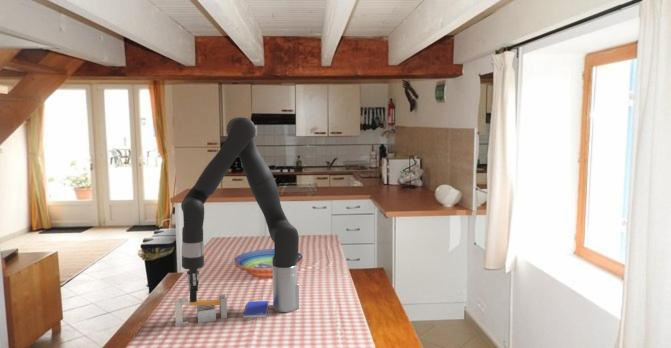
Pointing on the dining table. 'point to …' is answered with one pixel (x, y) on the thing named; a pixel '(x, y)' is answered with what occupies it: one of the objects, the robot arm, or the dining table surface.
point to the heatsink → (206, 313)
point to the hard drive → (256, 309)
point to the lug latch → (179, 309)
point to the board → (222, 311)
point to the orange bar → (205, 302)
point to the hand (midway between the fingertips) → (193, 301)
